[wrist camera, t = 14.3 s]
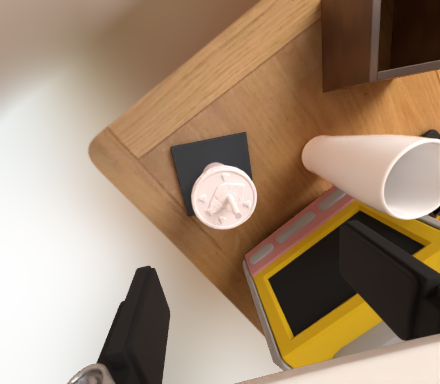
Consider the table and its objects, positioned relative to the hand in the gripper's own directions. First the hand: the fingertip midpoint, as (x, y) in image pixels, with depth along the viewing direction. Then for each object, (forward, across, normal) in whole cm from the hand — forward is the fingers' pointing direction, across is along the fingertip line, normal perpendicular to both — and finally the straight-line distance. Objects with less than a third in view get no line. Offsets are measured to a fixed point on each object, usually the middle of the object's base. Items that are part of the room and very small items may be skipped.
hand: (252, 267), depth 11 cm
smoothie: (+20, 0, +1) cm, 20 cm away
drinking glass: (+21, -15, +1) cm, 26 cm away
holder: (+21, -21, -12) cm, 32 cm away
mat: (+21, 0, +1) cm, 21 cm away
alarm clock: (+21, -13, +16) cm, 29 cm away
